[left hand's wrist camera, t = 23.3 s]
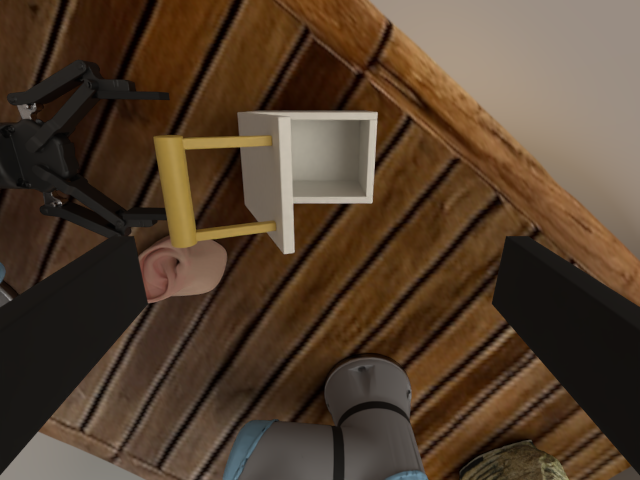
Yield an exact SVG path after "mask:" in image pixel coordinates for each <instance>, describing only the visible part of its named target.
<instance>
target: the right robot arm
mask: <svg viewBox="0 0 640 480" xmlns="http://www.w3.org/2000/svg"><path fill="white" fill-rule="evenodd" d="M99 71H100V68H99V66H98V65H97V64H96V63H93V62H88V61H82V60H76V61H75V62H73V63H71V64H70V65H68V66H67V67H65V68H63V69H62V70H60V71H58V72H57V73H55V74H54V75H52V76H50V77H49V78H47V79H45V80H44V81H42V82H41V83H39V84H37V85H36V86H34V87H32V88H31V89H29V90H28V91H26V92H18V93H10V94H8V96H7V99H8V101H9V103H10V104H12V105H17V107H18V110H19V112H20V115H21V117H22V120H21V121H20V122H18V123H0V188H10V189H36V190H38V191H40V192H43V196H44V202H45V205H43V206H41V207H40V212H41V213H42V214H43V215H48V216H56V217H61V218H63V219H66V220H68V221H70V222H73V223H75V224H77V225H79V226H82V227H84V228H86V229H89V230H91V231H93V232H96V233H98V234H100V235H103V236H105V237H107V238H110V237H112V236H128V235H129V234H131V229H130V228H131V227H150V226H153V225H154V224H156V223H157V220H167V215H166V209H165V208H138V207H133V208H131V209H129V210H128V211H127V210H125V209H124V208H122V207H121V206H120V205H118V204H117V203H115V202H114V201H112V200H111V199H110V198H108V197H107V196H105V195H104V194H103V193H101V192H100V191H98V190H97V189H96V188H94V187H93V186H91V185H90V184H89V183H88V181H87V179H85V178H84V177H82V176H81V175H80V174H78V173H77V169H79V164H78V161H77V159H76V157H75V148H74V143H71V142H70V140H69V139H68V137H69V136H70V135H71V134H72V132H73V131H74V130H75V129H76V128H75V126H76V125H77V124H78V123H79V122H80V121H81V120H82V119H83V118H84V116H85V115H86V114H87V113H88V112H89V111H90V110H91V109H92V108H93V107H94V105H95V104H96V103H97V102H98V101H99V100H100V99H144V100H169V93H165V92H136V89H135V83H134V82H132V81H128V80H105V79H104V78H103V77H102V76H101V74H100V73H99ZM82 83H83V84H82ZM80 84H82V85H81V86H80V87H79V88H78V90H77V91H76V92H75V93H74V94H73V95H72V96H71V98H70V99H69V100H68V101H67V102H66V103H65V104H64V106H63V107H62V108H61V109H60V110H59V111H58V112H57V113H56V115H55V116H54V117H53V118H52V119H51V120H49V121H47V122H46V123H45V122H43V121H41V120H39V119H37V113H38V112H40V111H41V110H42V109H43V108H44V105H43V104H46V103H49V102H52V101H53V100H55V99H57V98H58V97H60V96H62V95H63V94H65V93H67V92H68V91H70V90H72V89H73V88H75V87H77V86H78V85H80ZM69 181H71V182H69ZM57 190H60V191H61V192H63V193H64V194H68V195H71V196H73V197H74V198H76V199H77V200H79V201H80V202H82V203H83V204H84V205H86V206H87V207H89V208H90V209H92V210H93V211H92V210H89V209H87V208H85V207H83V206H80V205H78V204H75V203H72V202H68V199H67V198H63V197H60V196H59V195H58V194H57V192H56V191H57ZM5 272H6V271H5V267H4V265H3V264H2V263H1V262H0V307H1V306H3V305H4V304H6V303H8V302H9V301H11V300H12V299H14V298H16V297H17V296H18V294H17V293H16V292H15V291H14V290H13V289H12V288H11V287H10V286H9V285H7V284H6V283H5V282H3V281H2V280H3V278H4V276H5Z"/></svg>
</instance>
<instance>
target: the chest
mask: <svg viewBox="0 0 640 480" xmlns="http://www.w3.org/2000/svg"><path fill="white" fill-rule="evenodd" d="M248 113H259V114H269V115H280V116H290V117H291V149H292V183H293V203H372V200H373V183H374V166H375V148H376V131H377V112H372V111H250V112H248Z"/></svg>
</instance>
